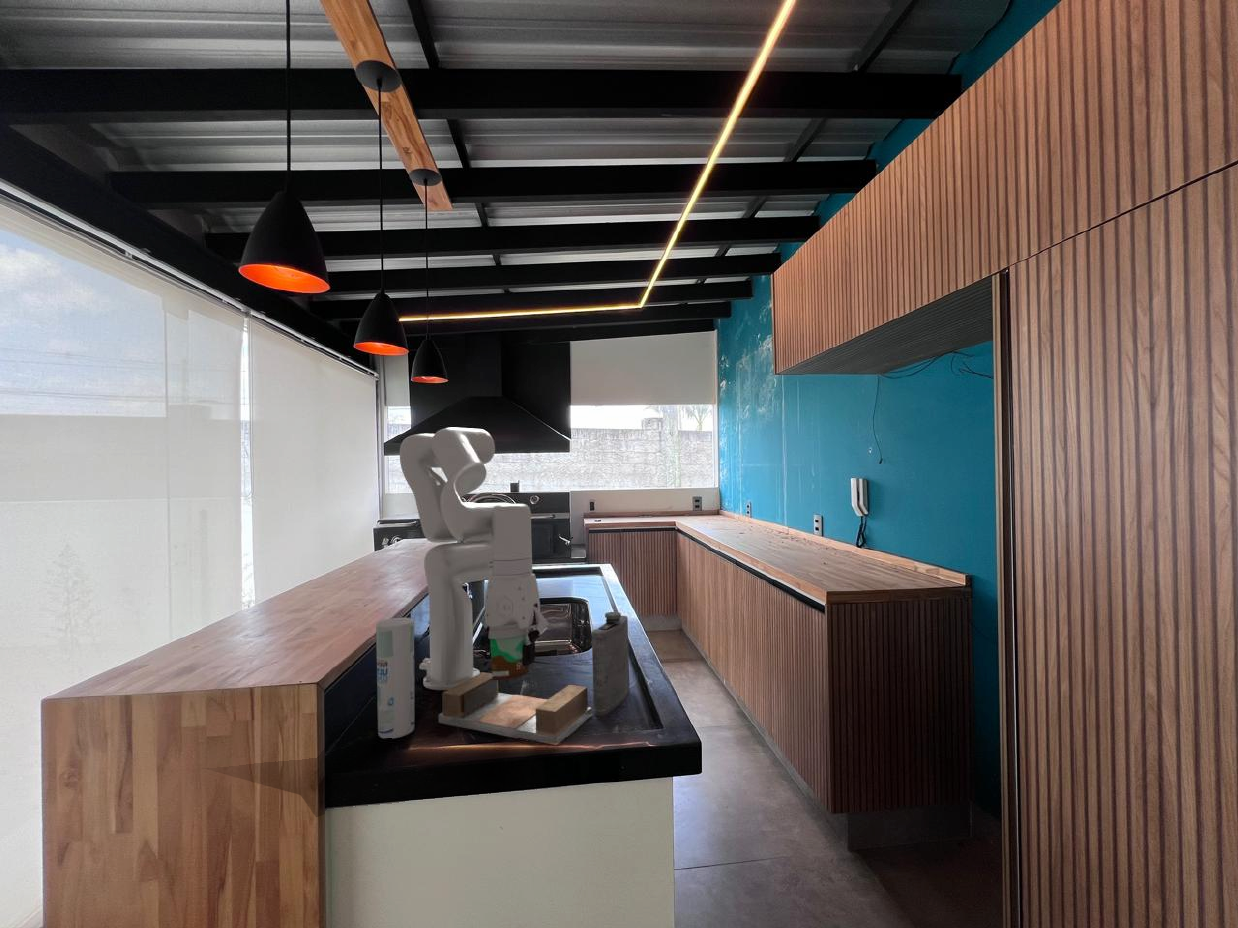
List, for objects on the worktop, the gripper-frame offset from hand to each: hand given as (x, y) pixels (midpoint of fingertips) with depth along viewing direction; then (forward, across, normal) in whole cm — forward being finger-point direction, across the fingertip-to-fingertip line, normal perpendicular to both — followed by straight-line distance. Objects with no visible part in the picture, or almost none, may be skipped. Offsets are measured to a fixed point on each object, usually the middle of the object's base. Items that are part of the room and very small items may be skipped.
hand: (515, 661), depth 103 cm
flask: (+11, +14, +14) cm, 23 cm away
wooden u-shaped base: (+11, 0, 0) cm, 11 cm away
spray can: (+11, -18, -12) cm, 24 cm away
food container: (+2, +1, 0) cm, 2 cm away
